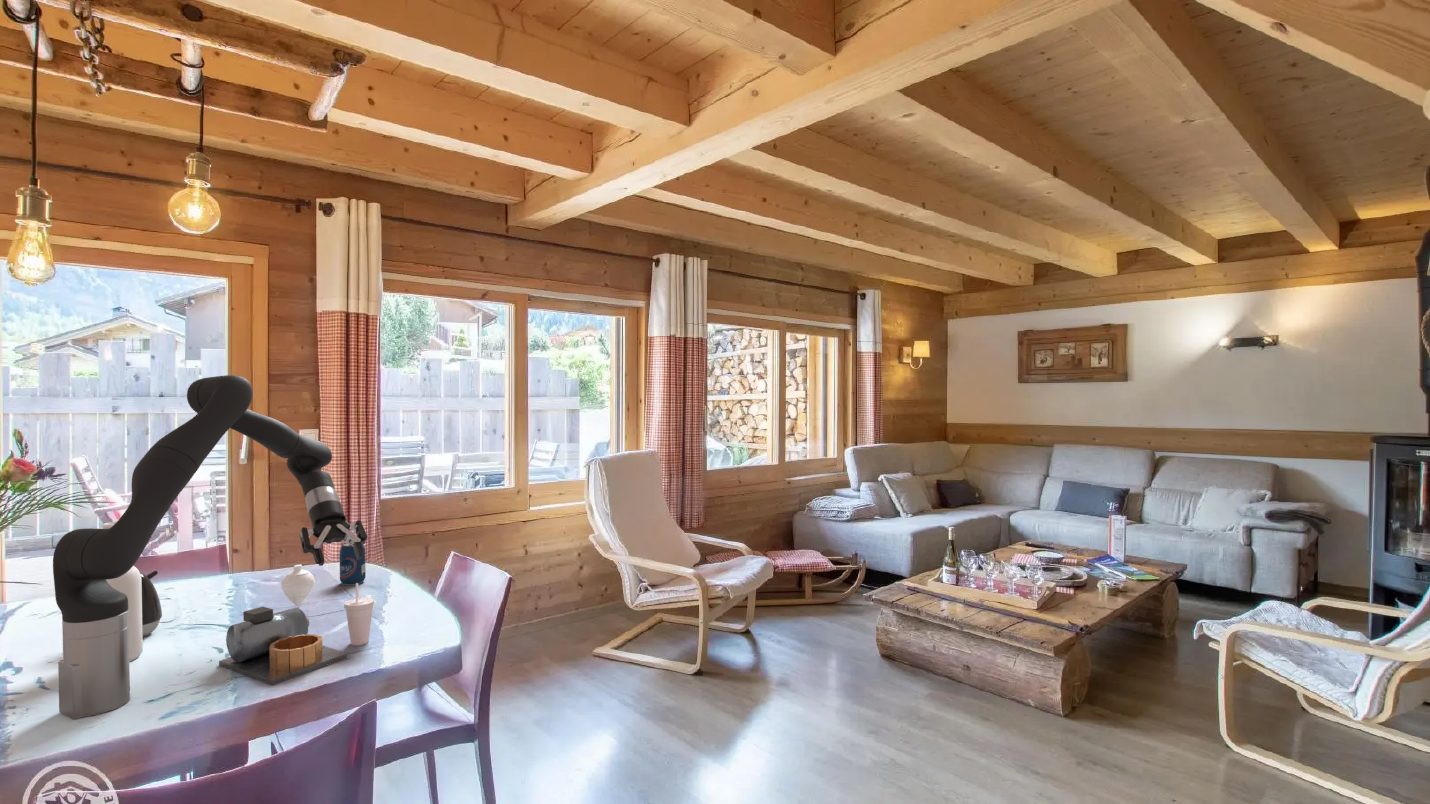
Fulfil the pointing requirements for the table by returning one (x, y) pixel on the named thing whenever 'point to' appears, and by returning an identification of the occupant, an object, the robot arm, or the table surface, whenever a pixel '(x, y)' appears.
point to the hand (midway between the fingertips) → (341, 560)
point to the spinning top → (297, 585)
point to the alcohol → (131, 604)
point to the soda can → (351, 566)
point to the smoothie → (359, 618)
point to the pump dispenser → (150, 604)
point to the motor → (276, 646)
